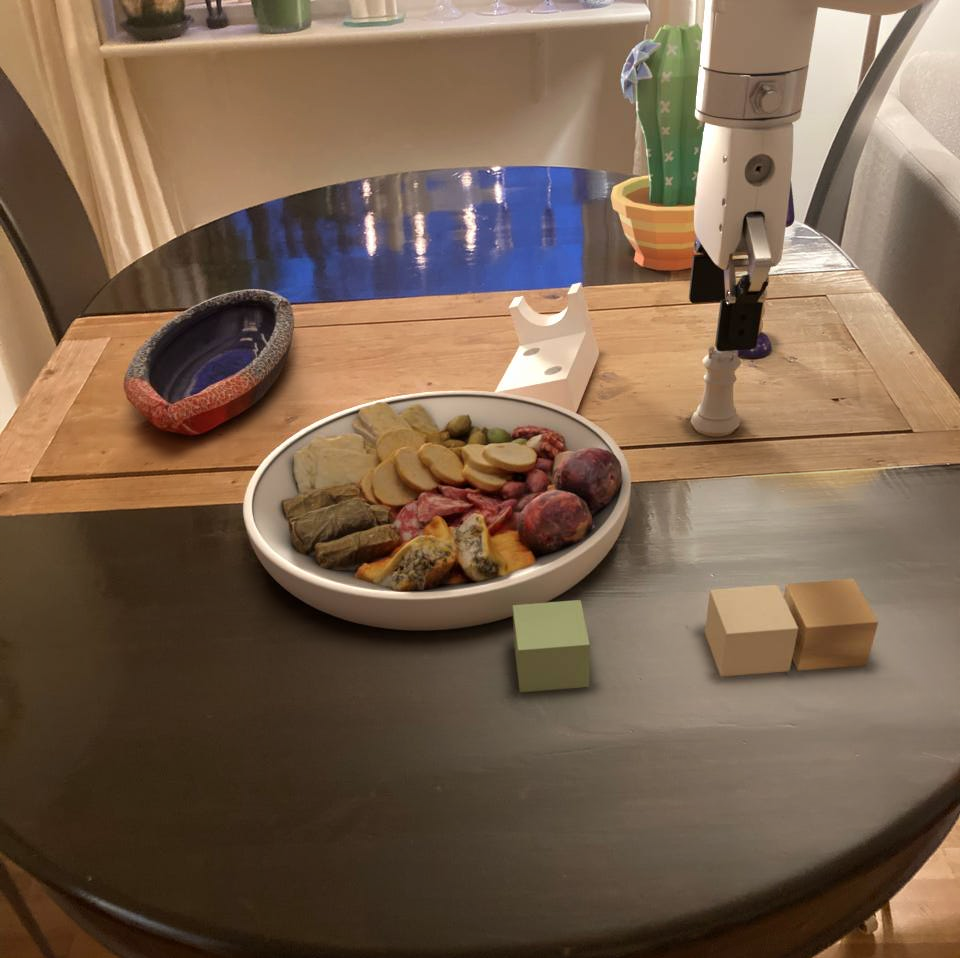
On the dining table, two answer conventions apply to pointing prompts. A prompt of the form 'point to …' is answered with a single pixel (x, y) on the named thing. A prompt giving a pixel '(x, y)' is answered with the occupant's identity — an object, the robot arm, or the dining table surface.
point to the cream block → (750, 630)
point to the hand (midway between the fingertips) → (720, 324)
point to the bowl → (438, 508)
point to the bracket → (552, 352)
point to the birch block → (830, 624)
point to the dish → (211, 361)
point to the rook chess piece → (718, 395)
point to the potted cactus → (664, 148)
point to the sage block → (551, 646)
